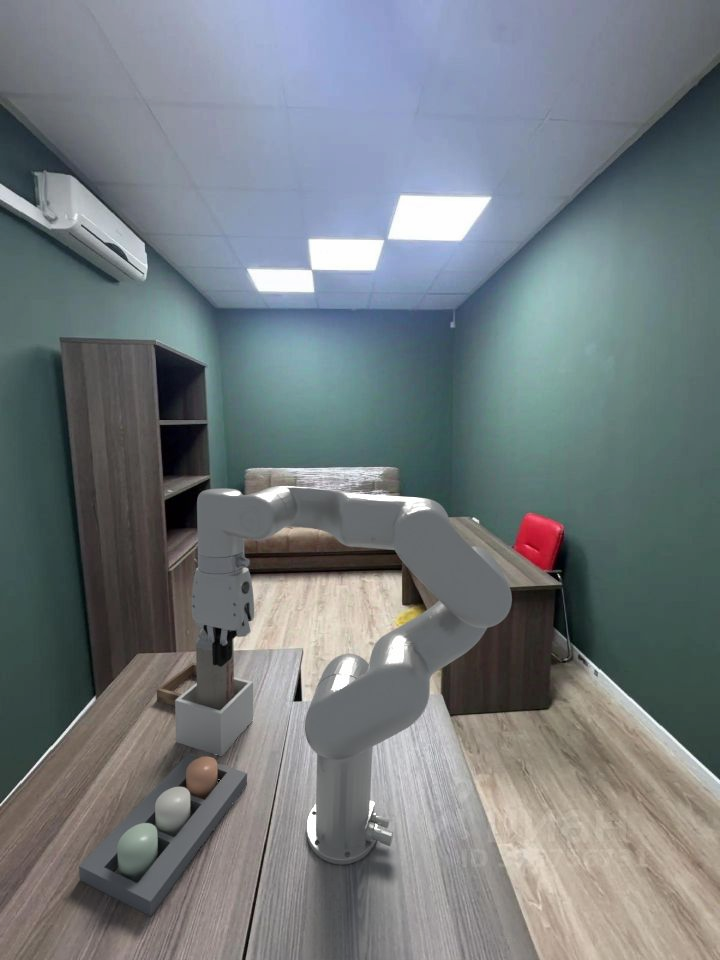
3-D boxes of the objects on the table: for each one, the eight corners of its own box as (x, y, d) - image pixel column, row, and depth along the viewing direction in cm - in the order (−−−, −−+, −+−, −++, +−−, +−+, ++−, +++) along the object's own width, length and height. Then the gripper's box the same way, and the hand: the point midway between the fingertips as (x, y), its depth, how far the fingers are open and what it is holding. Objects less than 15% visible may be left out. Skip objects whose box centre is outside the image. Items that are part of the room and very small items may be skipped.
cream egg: (197, 814, 76) (197, 792, 75) (174, 842, 70) (173, 819, 70) (172, 804, 77) (171, 782, 77) (148, 831, 72) (147, 808, 72)
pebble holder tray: (246, 784, 83) (246, 773, 83) (151, 916, 60) (150, 901, 60) (189, 764, 87) (188, 753, 87) (79, 880, 65) (78, 865, 65)
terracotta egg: (223, 781, 83) (223, 761, 82) (204, 805, 77) (204, 783, 77) (200, 773, 84) (199, 753, 84) (179, 795, 79) (179, 774, 79)
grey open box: (252, 720, 101) (253, 681, 100) (221, 756, 90) (221, 713, 88) (211, 708, 105) (210, 670, 103) (176, 741, 93) (175, 700, 92)
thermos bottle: (240, 721, 100) (239, 610, 97) (222, 746, 93) (221, 626, 89) (209, 716, 102) (208, 606, 98) (190, 740, 94) (188, 621, 90)
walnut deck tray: (232, 682, 115) (232, 672, 115) (199, 713, 103) (199, 702, 102) (193, 672, 119) (192, 662, 119) (156, 700, 107) (156, 689, 106)
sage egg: (165, 853, 69) (165, 829, 68) (137, 888, 63) (136, 863, 63) (139, 841, 70) (138, 818, 70) (109, 874, 65) (108, 850, 65)
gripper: (271, 560, 73) (270, 659, 75) (200, 550, 78) (201, 643, 80) (246, 574, 66) (246, 683, 68) (170, 561, 70) (172, 664, 73)
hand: (222, 661), depth 74 cm, fingers closed
